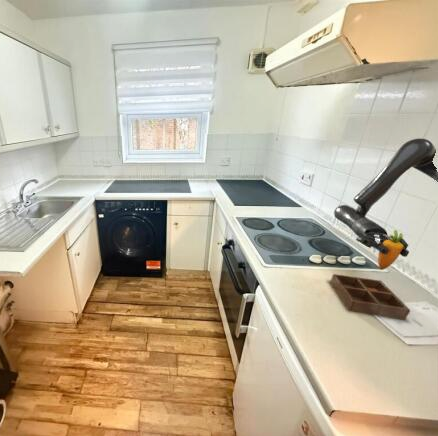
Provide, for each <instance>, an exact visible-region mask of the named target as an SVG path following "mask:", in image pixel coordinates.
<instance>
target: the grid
mask: <svg viewBox="0 0 438 436" xmlns="http://www.w3.org/2000/svg"><path fill="white" fill-rule="evenodd" d="M329 283H330V285H331V286H332V288H333V289H334V292H336V294H337V296H338V297H339V298H340V299H341V301H342V303H343V304H344V306H345V307H346V309H347V310H348V311H349V312H355V313H361V314H367V315H373V316H379V317H385V318H390V319H395V320H396V319H397V320H402V321H406V320H407V317H408V316H409V314H410V312H411V309H410V308H409V307H408V306H407V305H406V304H405V303H404V302H403V301H402V300H401V299H400V297H398V296H397V295H396V294H395V293H394V292H393V291H392V290H391V289H390V288H389V287H388V286H387V285H386V284H385V283H384V282H383V281H382V280H380V279H379V280H378V279H372V278H366V277H365V278H364V277H357V276H350V275H343V274H335V273H332V275H331V279H330V282H329Z"/></svg>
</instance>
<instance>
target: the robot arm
mask: <svg viewBox="0 0 438 436" xmlns="http://www.w3.org/2000/svg"><path fill="white" fill-rule="evenodd" d="M435 148H436V147H435V145H434V143H433V142H432V141H430V140H429V139H426V138H413V139H410V140H408V141H406V142H405V143H403V144H402V145H401V146H400V147H399V148H398V150H397V151H396V152H395V153H394V155H393V156H392V158H391V159H390V160H389V161H388V162H387V164H386V165H385V166H384V167H383V169H382V170H381V171H380V172H378V174H377V175H376V176H374V178H373V179H372V180H371V181H370V182H369V183H368V184H366V186H365V187H363V188H362V189H361V190H360V191H359V192H358V193H357V194H356V195H355V196H354V197H353V202H354V203H355V204H356V205H357V208H356V209H355V208H354V207H351V206H350V205H348V204H341V205H338V206H337V207H336V208H335V209H334V211H333V216H334V217H335V218H336V219H337V220H338V221H340V222H341V223H342V224H344V225H345V226H347V227H348V228H349V229H350V230H351V231H352V232H353V233H354V234H355V235H356V239H355V240H356V242H358V243H360V244H362V245H363V246H365V247H367V248H373V249H375V250H377V251H378V252H379V251H380V252H381V253H382V254H387V253H388V250H389V249H388V248H387V247H386V246H384V245H383V244H382V243H383V242H384V241H386V240H392V238H391V236H390V235H389V234H388V232H387V230H386V229H385V228H384V227H382V226H381V225H379V223H376V222H375V221H374V220H372V219H370V218H369V217H367V214H368V213H369V211H370V210H371V209H372V207H373V206H374V205H375V204H376V203H377V202H379V200H381V199H382V198H383V197H384V196H385V195H386V194H387V193H388V191H390V189H391V188H392V187H393V185H394V184H395V183H396V182H397V181H398V179H399V178H400V177H402V176H403V175H404V174H405V173H406V172H407V171H408V170H411V168H414V169H415V170H417V171H419V172H421V173H422V174H424V175H426V176H427V177H429V178H431V179H432V178H433V179H434V180H433V179H432V180H433V181H435V180H436V181H437V182H438V172H437V170H436V169H437V168H436V167H435V166H434V164H433V162H432V161H433V158H434V156H435V153H436V149H437V148H436V149H435ZM436 181H435V182H436ZM437 182H436V183H437ZM398 242H400V243H401V244H403V249H402V251H401V253H400V254H399V256H401V257H403V258H407V257H408V256H409V253H410V251H409V250H408V247H409V243H407V241H406V240H405V239H404V238H401V239H400V240H399V241H398Z"/></svg>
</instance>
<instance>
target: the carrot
mask: <svg viewBox="0 0 438 436" xmlns="http://www.w3.org/2000/svg"><path fill="white" fill-rule="evenodd" d="M389 236H390V237H391V238H392V240H386V241H384V242H383V243H382V244H383V245H384V246H386V247H387V248H388V249H389V250H388V253H387V254H382V253H381V252H380V251H378V255H377V263H378V268H379V269H380V271H384V270H385V269H387V268H389V267H391V265H393V264H394V263H395V261H396V260H397V259H398V258H399V256H400V253H401V251H402V249H403V244H401V243H400V242H398V241H399V240H400V239H401V238H402V239H404V234H403V233H402V232H401V233H399V232H398V230H397V229H394V230H393V234H389Z"/></svg>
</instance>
